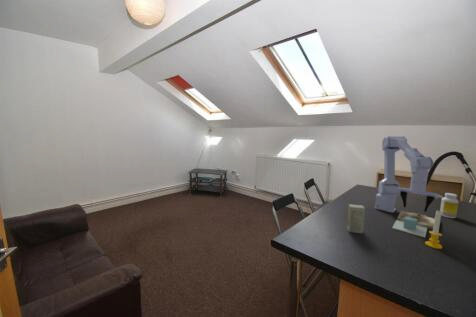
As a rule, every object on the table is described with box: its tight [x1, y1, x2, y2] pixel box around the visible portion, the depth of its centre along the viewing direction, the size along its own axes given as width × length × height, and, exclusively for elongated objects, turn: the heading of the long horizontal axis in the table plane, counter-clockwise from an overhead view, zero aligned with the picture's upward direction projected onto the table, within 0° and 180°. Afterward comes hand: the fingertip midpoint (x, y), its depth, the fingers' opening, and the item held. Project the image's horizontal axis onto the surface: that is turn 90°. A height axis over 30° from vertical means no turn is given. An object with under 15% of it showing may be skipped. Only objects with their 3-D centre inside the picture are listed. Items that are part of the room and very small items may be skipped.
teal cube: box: [403, 217, 417, 231], centre depth 99 cm, size 4×4×4 cm
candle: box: [424, 210, 443, 250], centre depth 84 cm, size 5×5×16 cm
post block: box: [396, 210, 435, 230], centre depth 108 cm, size 16×14×5 cm
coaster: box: [391, 219, 428, 239], centre depth 100 cm, size 12×12×1 cm
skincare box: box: [346, 203, 366, 234], centre depth 96 cm, size 6×4×12 cm
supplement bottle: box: [439, 192, 459, 219], centre depth 115 cm, size 7×7×13 cm
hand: (414, 208), depth 100 cm, fingers open, 7 cm apart
